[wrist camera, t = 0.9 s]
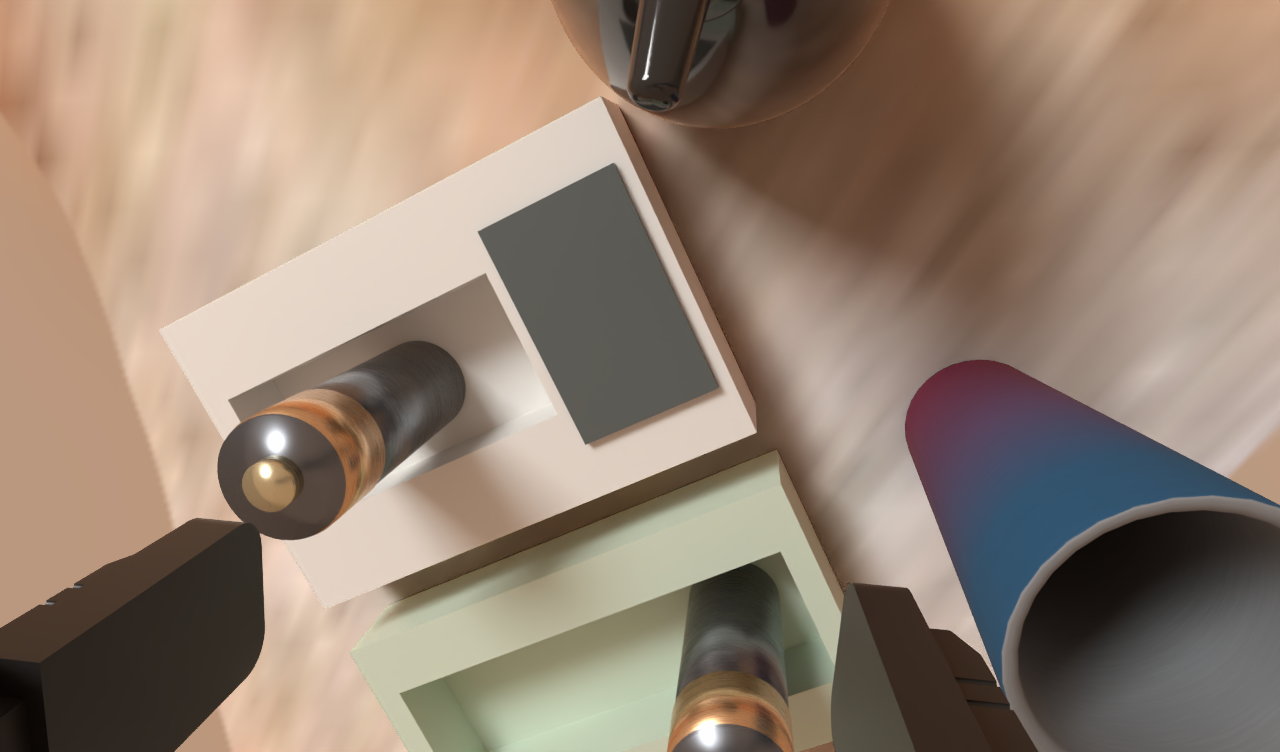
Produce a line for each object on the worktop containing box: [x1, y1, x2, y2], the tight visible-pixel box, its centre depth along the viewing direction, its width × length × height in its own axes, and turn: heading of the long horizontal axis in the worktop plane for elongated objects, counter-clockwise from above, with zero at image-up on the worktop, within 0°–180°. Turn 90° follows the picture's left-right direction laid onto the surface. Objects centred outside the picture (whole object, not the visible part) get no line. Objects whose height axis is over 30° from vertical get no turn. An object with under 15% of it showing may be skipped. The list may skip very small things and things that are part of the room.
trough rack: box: [350, 449, 844, 752], centre depth 32 cm, size 18×10×4 cm, turn 115°
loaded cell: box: [667, 563, 794, 752], centre depth 27 cm, size 4×4×11 cm
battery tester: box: [159, 96, 757, 609], centre depth 30 cm, size 18×12×4 cm, turn 115°
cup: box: [905, 360, 1280, 752], centre depth 23 cm, size 7×7×15 cm
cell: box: [218, 341, 466, 540], centre depth 27 cm, size 4×4×11 cm
